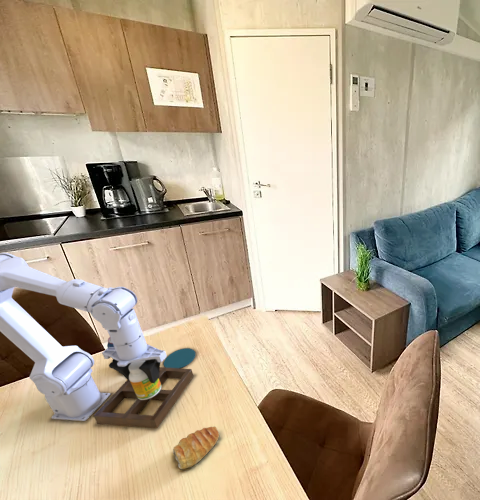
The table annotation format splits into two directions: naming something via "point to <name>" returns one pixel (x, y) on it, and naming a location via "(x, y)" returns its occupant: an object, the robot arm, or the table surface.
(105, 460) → the table surface
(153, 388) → the supplement bottle
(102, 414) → the rack
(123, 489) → the table surface
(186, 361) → the coaster
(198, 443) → the pastry
